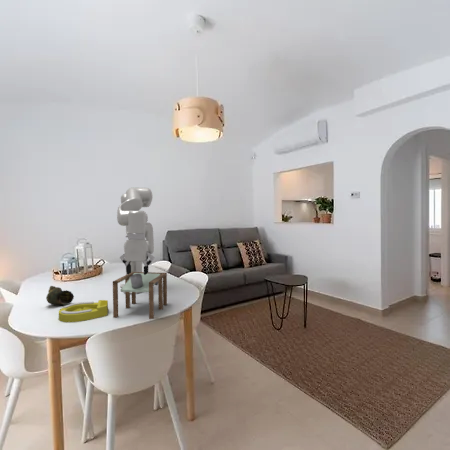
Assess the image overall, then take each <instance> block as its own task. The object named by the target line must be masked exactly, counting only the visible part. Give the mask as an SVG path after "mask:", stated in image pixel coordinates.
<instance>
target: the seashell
mask: <svg viewBox="0 0 450 450" xmlns="http://www.w3.org/2000/svg"><path fill="white" fill-rule="evenodd" d="M48 288H49V289H48V293H47V295H46V302H47V303H48V304H50V305H54V306H59V305H60V306H66V305H69V304H72V303H73V300H74V297H75V296H74V293H73V292H72V291H70V290H62V288H61V287H59V286H57V287H56V286H54V285H50V286H49V287H48Z"/></svg>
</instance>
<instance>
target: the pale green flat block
mask: <svg viewBox="0 0 450 450" xmlns="http://www.w3.org/2000/svg"><path fill="white" fill-rule="evenodd" d="M134 274H141V275H142V281H143V286H142V287H141V288H138V289H134V288H132V285H131V279H130V278H129V280H128V281H127V282H126V284H124V286H123V287H122V288H120V292H121V293H122V292H123V293H124V292H142V293H149V282H150V281H152V280H153V279H155V278H156V277H158V276H159V275H160V274H151V273H147V274H146V275H144V273H134ZM134 274H133V275H134ZM154 286H158V281H157V282H156V283H155V284H153V287H154Z"/></svg>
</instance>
